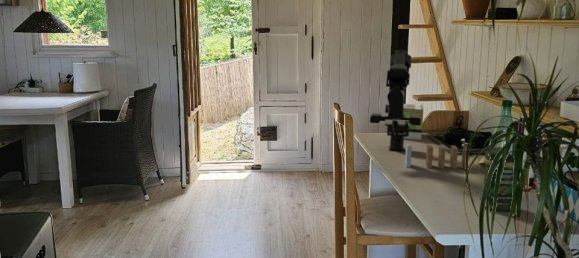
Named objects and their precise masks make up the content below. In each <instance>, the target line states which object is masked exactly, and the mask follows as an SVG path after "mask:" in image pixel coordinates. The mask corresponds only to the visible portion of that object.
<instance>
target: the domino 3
mask: <svg viewBox="0 0 579 258" xmlns="http://www.w3.org/2000/svg"><path fill="white" fill-rule="evenodd" d="M437 155H438V156H437V167H438V168H439V169H442V170H445V160H446V146H445V145H443V144H439V145H438V154H437Z"/></svg>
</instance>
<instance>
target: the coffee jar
mask: <svg viewBox="0 0 579 258" xmlns="http://www.w3.org/2000/svg"><path fill="white" fill-rule="evenodd" d="M493 147H494V149H493V151H492V152H491V159H490V162H489V156H488V150H487V151H486V150H485V153H484V158H483V160H484V164H485V172H484V179H483V183H482V186H481V187H482V188H481V193H480V198H479V201H480V200H481V196H482V192H483V188H484V184H485V181H486V177H487V173H488V170H489V167H490V165H491V163H492V160H493V159H494V157H495V155H496V154H497V152H498V151H499V150H500V149H501V148H502V147H503V146H493ZM513 165H514V158H513V156H512V155H511V154H509V155H508V157H507V159H506V162H505V167H504V172H503V175H502V178H501V182H500V188H499V194H498V200H497V207H496V210H495V211H508V212H509V210H510V206H511V201H512V181H513ZM496 172H497V169H496V170H495V172H494V174H493V177H492V181H491V187H490V196H489V205H490V208H491V209H492V206H493V198H494V186H495V179H496ZM491 209H490V210H491ZM510 211H511V210H510Z"/></svg>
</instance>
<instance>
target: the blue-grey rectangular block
mask: <svg viewBox="0 0 579 258" xmlns="http://www.w3.org/2000/svg"><path fill="white" fill-rule="evenodd" d="M405 145H406V146H405V159H404V160H405V161H404V165H405V167H406V168H411V166H412V165H411V164H412V152H413V151H412V149H413V148H412V144H411V143H406V144H405Z"/></svg>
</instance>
